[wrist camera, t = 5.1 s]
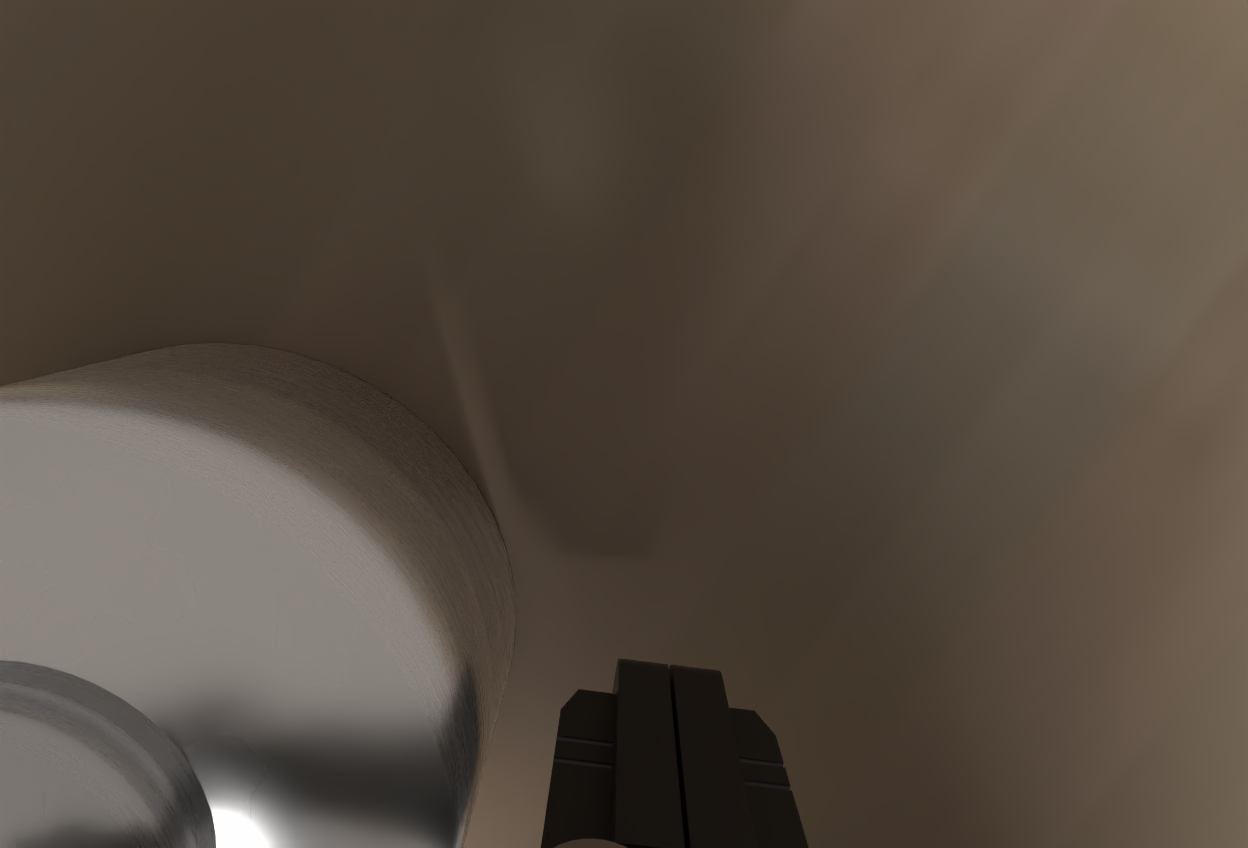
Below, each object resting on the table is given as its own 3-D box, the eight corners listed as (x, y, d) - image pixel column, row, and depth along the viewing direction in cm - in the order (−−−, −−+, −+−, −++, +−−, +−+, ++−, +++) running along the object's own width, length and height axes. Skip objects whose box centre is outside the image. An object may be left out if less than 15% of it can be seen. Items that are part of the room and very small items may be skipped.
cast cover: (546, 387, 12) (475, 524, 6) (486, 863, 14) (393, 1297, 8) (-39, 303, 12) (-680, 367, 6) (-11, 802, 14) (-469, 1210, 8)
